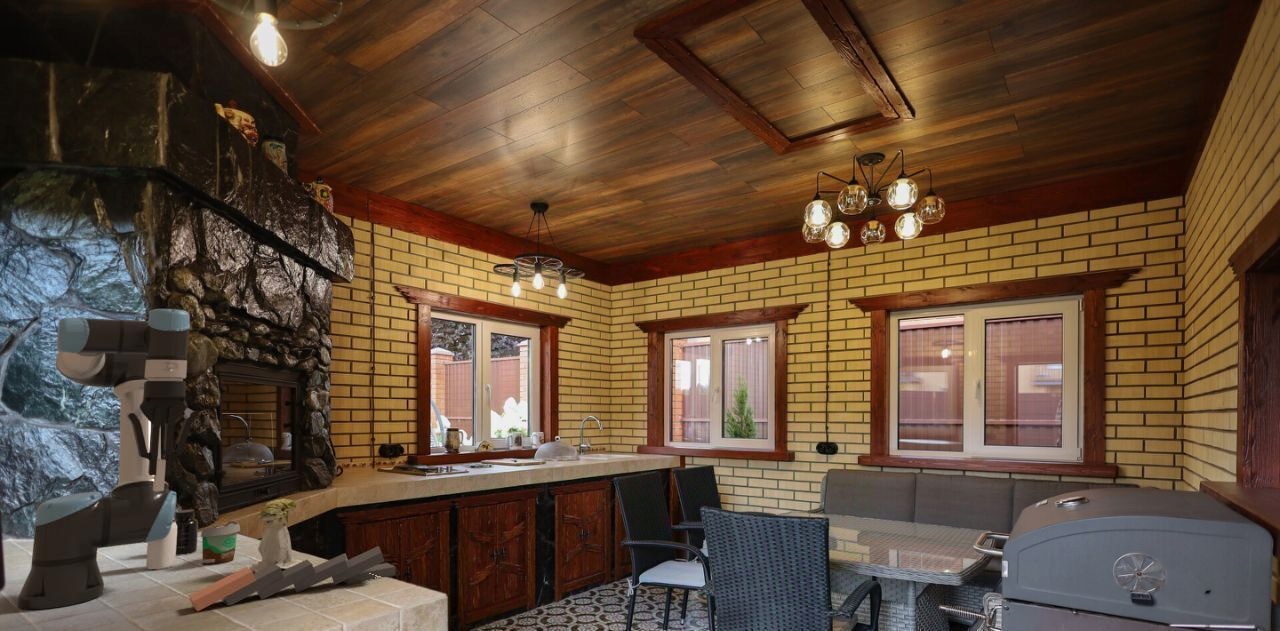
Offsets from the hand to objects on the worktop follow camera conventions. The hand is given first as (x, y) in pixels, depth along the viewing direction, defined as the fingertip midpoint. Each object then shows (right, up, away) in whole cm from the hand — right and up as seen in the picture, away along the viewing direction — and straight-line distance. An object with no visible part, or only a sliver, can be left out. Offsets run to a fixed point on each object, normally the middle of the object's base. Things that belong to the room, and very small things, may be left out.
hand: (158, 490), depth 149 cm
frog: (+6, -31, +37) cm, 48 cm away
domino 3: (+15, -27, +12) cm, 33 cm away
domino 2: (+10, -26, +7) cm, 29 cm away
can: (-26, -31, +39) cm, 56 cm away
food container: (-13, -31, +45) cm, 56 cm away
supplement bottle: (-31, -32, +55) cm, 71 cm away
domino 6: (+30, -28, +24) cm, 47 cm away
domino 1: (+6, -25, +3) cm, 26 cm away
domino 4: (+21, -27, +17) cm, 38 cm away
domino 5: (+28, -27, +21) cm, 44 cm away
